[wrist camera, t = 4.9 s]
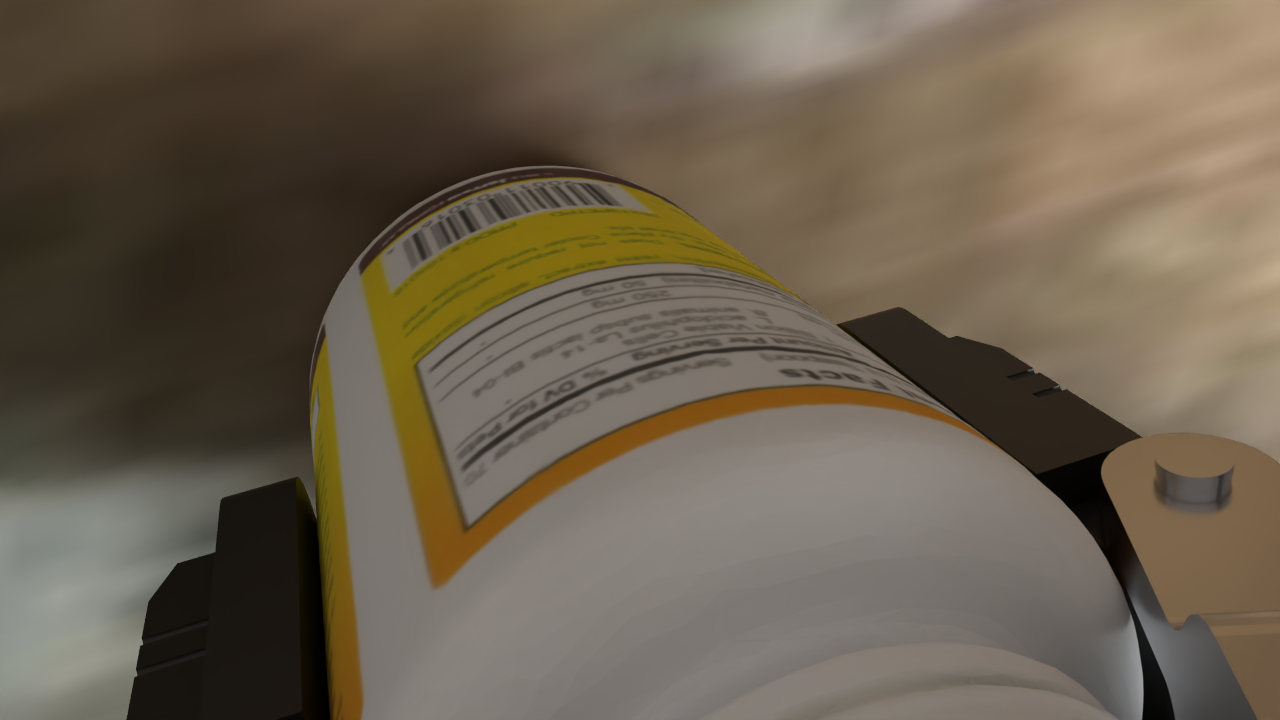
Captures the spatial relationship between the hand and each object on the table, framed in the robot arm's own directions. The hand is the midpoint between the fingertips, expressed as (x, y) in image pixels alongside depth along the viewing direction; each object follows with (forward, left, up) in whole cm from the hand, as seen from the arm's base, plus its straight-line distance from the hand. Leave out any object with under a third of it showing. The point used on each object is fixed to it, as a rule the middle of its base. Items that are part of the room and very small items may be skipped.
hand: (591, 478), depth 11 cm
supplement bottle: (0, 0, -3) cm, 3 cm away
